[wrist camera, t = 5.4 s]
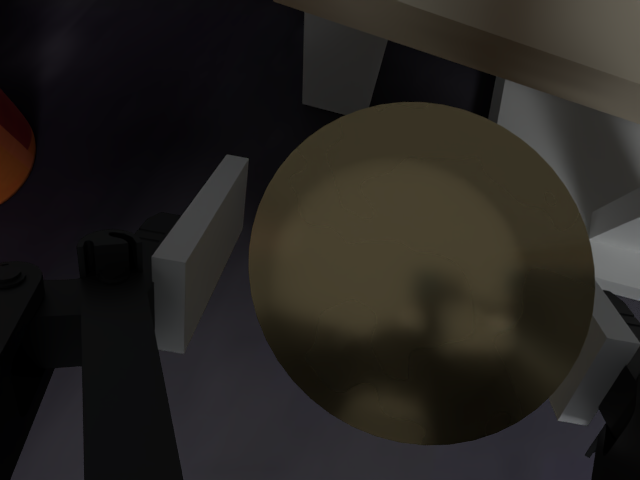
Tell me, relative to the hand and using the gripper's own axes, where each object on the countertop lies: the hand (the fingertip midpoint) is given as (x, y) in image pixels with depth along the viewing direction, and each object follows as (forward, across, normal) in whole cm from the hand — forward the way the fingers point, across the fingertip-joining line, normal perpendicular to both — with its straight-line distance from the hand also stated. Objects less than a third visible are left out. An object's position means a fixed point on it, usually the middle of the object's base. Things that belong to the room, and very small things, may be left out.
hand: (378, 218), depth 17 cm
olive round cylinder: (+1, 0, -5) cm, 5 cm away
